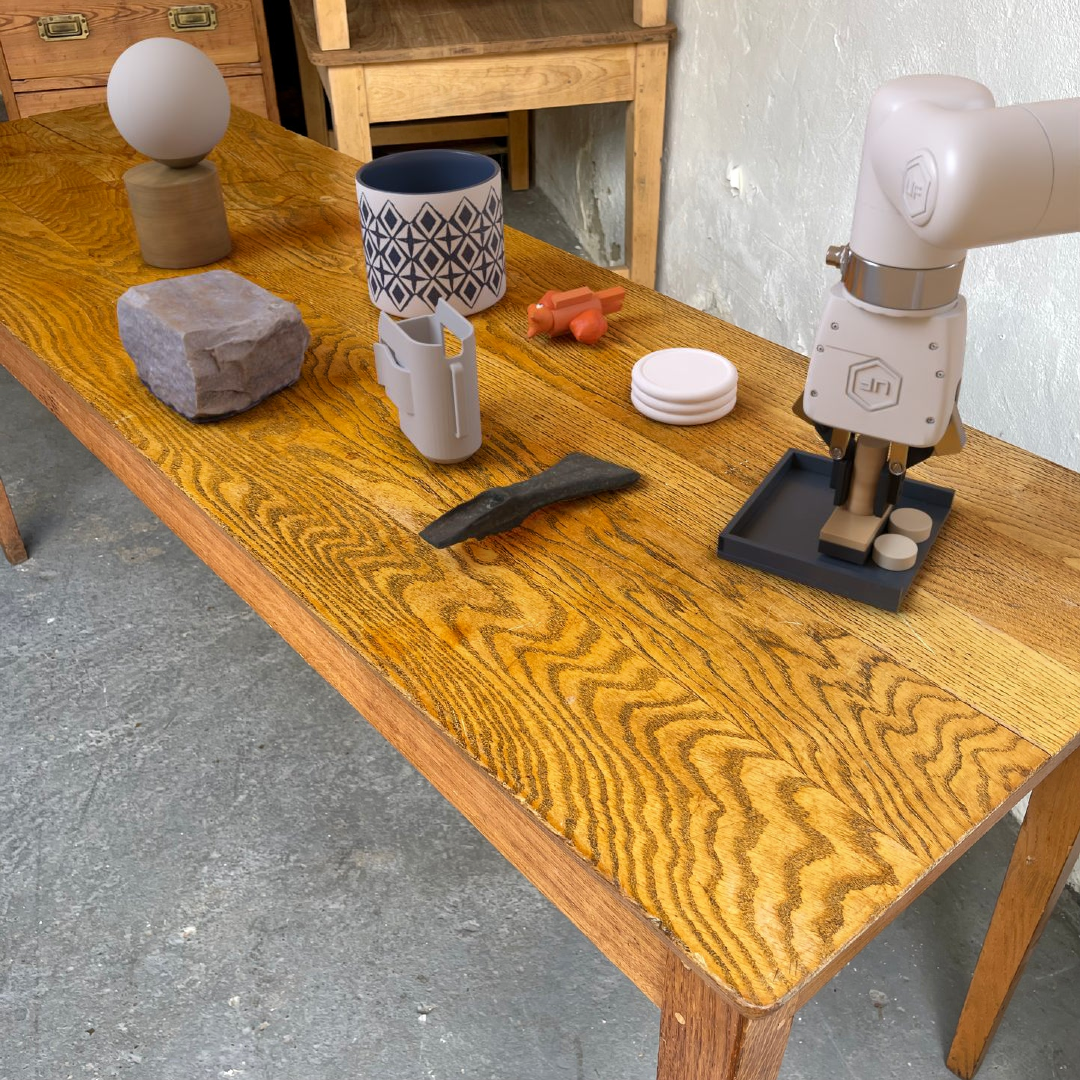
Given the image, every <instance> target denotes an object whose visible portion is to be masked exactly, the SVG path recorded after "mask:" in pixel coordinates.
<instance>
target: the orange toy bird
mask: <svg viewBox="0 0 1080 1080" xmlns="http://www.w3.org/2000/svg"><path fill="white" fill-rule="evenodd" d="M626 295H627V291H626V290H625V289H624V287H623V286H622V285H618V286H615V287H610V288H607V289H603V290H600V291H593V290H591V289H590V287H589V286H582V287H578V288H575V289H571V290H567V291H561V290H555V289H550V290H548V291H547V292H546V293H545V294H544V295H543V296H542V297H541V298H540V299H539V301H538V302H537V303H531V304H528V306H527V309H526V311H527V323H528V325H529V326H528V331H527V333H526V338H527V339H529V340H531V339H532V338H534V337H536V336H538V335H539V334H544V333H545V334H546V335H547V336H548V337H549V338H550V339H552V338H556V337H560V336H564V335H567V334H570V333H571V334H573V336H574V337H575V339H576V340H577V342H579V343H584V344H587V345H593V344H595V343H597V342H598V341H599V339H600V338H601V337H602V336H604V335H605V334H606V333H607V331H608V329H609V325H608V322H607V319H606V317H605V316H608V315H610V314H614V313H618V312H621V311H622V309H623V305H624V303H623V302H622V301H623V300H625V298H626Z"/></svg>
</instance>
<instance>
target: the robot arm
mask: <svg viewBox="0 0 1080 1080" xmlns="http://www.w3.org/2000/svg"><path fill="white" fill-rule="evenodd" d="M865 120H866V121H865V128H864V129H865V130H864V134H863V136H864V137H863V144H862V151H861V156H860V157H861V158H860V164H859V172H858V179H857V185H856V186H857V187H856V192H855V193H856V194H855V200H854V208H853V213H852V214H853V215H852V220H851V221H852V223H851V228H850V229H851V230H850V235H849V236H850V237H849V242H848V243H847V244H845V245H843V244H842V245H840V246H837V245H830V246H829V247H828V249H827V252H826V255H825V265H826V266H832V267H835V269H838V270H840V275H841V278H840V280H839V281H837V282H836V283H835V284H833V285H832V286H831V287H830V290H829V291H828V295H827V297H826V300H825V303H824V305H823V309H822V313H821V316H820V318H819V323H818V327H817V331H816V334H815V338H814V342H813V347H812V352H811V355H810V360H809V361H810V362H809V365H808V370H807V375H806V378H805V379H806V381H805V386H804V389H803V391H802V392H801V393H800V395H799V396H798V397H797V399H796V400H795V402H794V403H793V404H792V407H791V411H792V413H793V414H794V415H796V416H797V417H798V418H799V419H801V421H804V422H805V423H806V424H808V425H809V426H813V427H814V430H815V432H816V433H817V434H818V436H819V437H820V438H821V439H822V441H823V442H824V444H826V446H827V448H828V454H829V457H830V458H833V466H832V473H831V479H830V488H832V489H835V496H834V502H833V505H835V506H839V507H841V505H842V506H844V504H845V503H846V501H847V498H848V492H849V486H850V480H851V473H852V467H853V461H854V454H855V448H856V442H857V437H858V435H860V434H861V435H865V436H869V437H873V438H877V439H881V440H885V441H889V442H891V443H890V450H889V457H888V459H887V463H886V465H885V466H884V468H883V469H882V471H881V473H880V475H879V481H878V486H877V492H876V497H875V503H874V509H873V514H874V515H875V517H879V518H882V517H883V516H884V514H885V512H886V511H887V509H888V507H889V506H890V504H891V505H895V506H897V504H898V503H899V501H900V498H901V495H902V491H903V486H904V481H905V477H906V475H907V471H908V470H909V469H911V468H913V467H914V466H916V465H919V464H921V463H922V462H924V461H926V460H928V459H929V458H931V457H935V456H936V457H942V456H950V455H957V454H960V453H961V452H962V451H963V450H964V449H965V446H966V444H967V442H968V438H967V435H966V432H965V428H964V425H963V421H962V418H961V415H960V410H959V408H958V403H959V399H960V395H961V389H962V382H963V381H962V380H963V374H964V367H965V359H966V358H965V356H966V346H967V333H968V304H967V298H966V296H964V295H963V294H961V293H960V288H961V285H962V284H961V283H962V278H963V273H964V269H965V265H966V264H965V263H966V259H967V254H968V250H972V249H973V250H975V249H981V248H987V247H993V246H999V245H1006V244H1013V243H1017V242H1020V241H1025V240H1027V241H1028V240H1032V239H1039V238H1047V237H1052V236H1053V237H1054V236H1059V235H1066V234H1067V235H1068V234H1074V233H1075V234H1076V233H1080V96H1078V97H1065V98H1058V99H1049V100H1041V101H1040V100H1039V101H1032V102H1025V103H1016V104H1007V105H1005V106H996V100H995V97H994V95H993V93H992V91H991V90H990V89H989V88H988V87H987V86H986V85H985V84H983V83H981V82H978V81H976V80H975V79H971V78H968V77H964V76H959V75H951V74H943V73H941V74H940V73H919V74H918V73H916V74H908V75H907V74H906V75H902V76H898V77H894V78H892V79H889V80H887V81H885V82H884V83H882V84H881V85H880V86H878V88H877V89H876V90H875V91H874V93H873V95H872V97H871V99H870V102H869V105H868V109H867V114H866V119H865Z"/></svg>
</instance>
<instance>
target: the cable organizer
mask: <svg viewBox="0 0 1080 1080" xmlns="http://www.w3.org/2000/svg"><path fill="white" fill-rule="evenodd" d="M378 318H379V319H378V324H377V332H378V340H379V342H374V343H373V345H372V346H373V351H374V353H373V354H374V360H375V362H374V363H375V369H376V376H377V384H378V385H380V386H384V388H385V390H384V391H385V395H386V396H387V398H388V399H389V400H390V401H391V402H392V403H393V404H394V406H395V407H396V408H397V409H398V418H399V427H400V430H401V432H402V433H403V434H404V435H405V436H406V437H407V439H408V440H409V441H410V442H411V443H412V445H413V446H414V447H415V449H417V450H418V452H420V453H421V455H422V456H423V457H424V458H426V459H427V460H428V461H430V462H433V463H437V464H443V465H449V464H457V463H460V462H464V461H465V460H468V459H469V458H470V457H472V456H473V455H474V454H475V453H476V452H477V451H478V450H479V449H480V448H481V445H482V442H483V439H482V438H483V437H482V421H481V407H480V394H479V393H480V392H479V375H478V364H477V363H478V362H477V349H476V348H477V346H476V334H475V333H476V332H475V327H474V325H473V324H472V322H470V321H469V320H468V319H467V318H466V317H465V316H464V317H463V316H462V315H461V314H460V313H459V312H457V311H456V310H455V309H454V308H453V307H452V306H451V305H449V304H448V303H447V302H446V301H445V300H444V299H443V298H439V300H438V304H437V308H436V312H435V314H433V315H423V316H419V317H414V318H410V319H406V318H405V319H402V320H398V321H397V320H396V321H395V320H393V319H392V317H390V316H389V315H388V313H386V312H384V311H382V310H380V313H379V317H378ZM445 328H446V329H447V330H448V331H449V332H451V333H452V335H454V336H455V337H456V338H457V339H458V340H459V341H461V351H460V353H459V354H457V355H454V356H448V357H447V352H446V351H447V350H446V339H445Z"/></svg>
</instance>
